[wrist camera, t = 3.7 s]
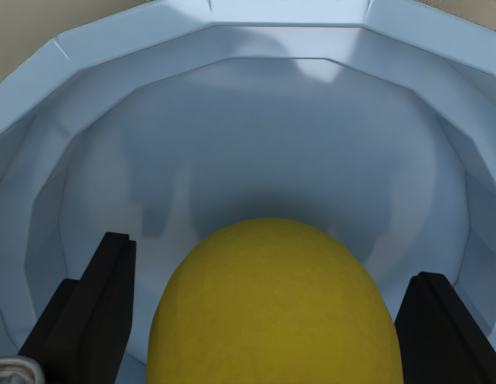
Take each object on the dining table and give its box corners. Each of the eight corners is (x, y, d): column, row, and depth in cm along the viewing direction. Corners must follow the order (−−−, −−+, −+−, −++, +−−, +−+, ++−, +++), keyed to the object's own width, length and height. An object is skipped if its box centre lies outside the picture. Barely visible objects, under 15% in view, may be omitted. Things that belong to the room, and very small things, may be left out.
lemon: (341, 150, 13) (471, 388, 5) (363, 305, 15) (475, 616, 8) (150, 191, 13) (33, 458, 6) (201, 334, 15) (162, 652, 8)
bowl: (-7, 361, 16) (-104, 509, 12) (55, -121, 10) (-99, -199, 6) (377, 447, 18) (420, 601, 14) (623, 95, 12) (844, 165, 8)
